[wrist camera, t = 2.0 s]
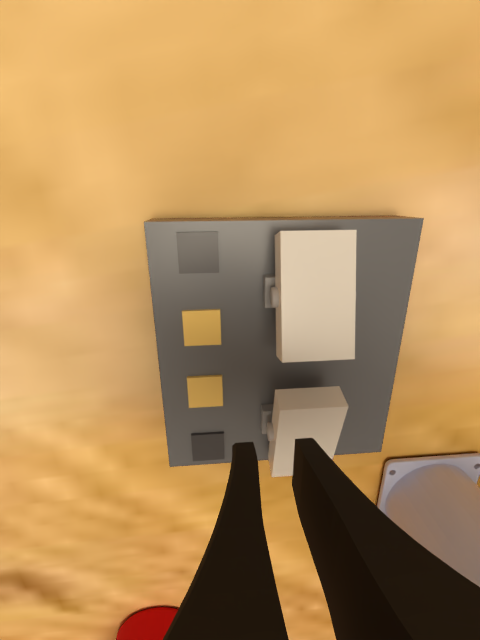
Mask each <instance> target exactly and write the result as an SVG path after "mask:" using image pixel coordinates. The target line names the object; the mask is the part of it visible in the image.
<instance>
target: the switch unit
mask: <svg viewBox="0 0 480 640" xmlns="http://www.w3.org/2000/svg"><path fill="white" fill-rule="evenodd" d="M423 219H424V218H415V217H405V216H339V217H254V218H170V219H150V220H148V221H145V222H144V227H145V237H146V246H147V256H148V265H149V275H150V284H151V293H152V303H153V312H154V322H155V331H156V341H157V350H158V360H159V369H160V379H161V388H162V398H163V407H164V417H165V426H166V436H167V445H168V454H169V464H170V467H174V466H188V465H202V464H216V463H230V462H232V445H233V444H235V443H240V442H253V443H254V447H255V450H256V454H257V459H258V460H269V459H268V451H269V442H270V441H268V437H267V423H270V422H272V414H273V405H274V395H275V390H276V389H294V388H313V387H331V386H339V387H340V389H341V391H342V393H343V395H344V397H345V400H346V402H347V404H348V406H349V407H348V410H347V413H346V417H345V420H344V423H343V427H342V430H341V433H340V437H339V440H338V443H337V446H336V450H335V453H334V455H343V454H357V453H371V452H381V449H382V443H383V438H384V432H385V427H386V421H387V416H388V410H389V405H390V399H391V394H392V389H393V383H394V378H395V372H396V367H397V361H398V356H399V350H400V345H401V339H402V334H403V328H404V323H405V317H406V312H407V307H408V301H409V296H410V290H411V285H412V279H413V274H414V268H415V263H416V257H417V252H418V246H419V241H420V235H421V230H422V225H423ZM307 230H357V233H356V306H355V359H348V360H327V361H306V362H285V363H282V362H281V361H280V360H279V358H278V357H277V356H276V308H272V307H271V302H270V291H271V287H275V235H276V234H277V233H278V232H280V231H307Z"/></svg>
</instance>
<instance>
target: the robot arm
mask: <svg viewBox="0 0 480 640" xmlns="http://www.w3.org/2000/svg"><path fill="white" fill-rule="evenodd" d="M391 470H392V471H391ZM479 475H480V453H471V454H457V455H443V456H430V457H416V458H402V459H391V460H388V461H387V462H386V463H385V467H384V472H383V478H382V483H381V488H380V493H379V498H378V504H377V506H376V505H375V504H374V503H373V502H372V501H370V500H369V499H368V498H367V497H366V496H365V495H364V494H363V493H362V492H361V491H360V490H359V489H358V488H357V486H356V485H355V484H354V483H353V482H352V481H351V480H350V479H349V478H348V477H347V476H346V475H345V474H344V473H343V472H342V471H341V469H340V468H339V467H338V466H337V465H336V464H335V463H334V462H333V460H332V459H331V458H330V457H329V456H328V455H327V454H326V452H325V451H324V450H323V449H322V448H321V447H320V445H319V444H318V443H317V442H316V441H315V440H314V439H313V438H301V439H295V447H294V462H293V478H292V486H293V491H294V496H295V501H296V505H297V510H298V514H299V518H300V521H301V524H302V527H303V530H304V533H305V536H306V539H307V542H308V545H309V548H310V551H311V554H312V557H313V560H314V563H315V566H316V569H317V572H318V575H319V578H320V581H321V584H322V587H323V590H324V594H325V597H326V601H327V604H328V607H329V611H330V615H331V619H332V624H333V628H334V632H335V636H336V640H480V488H479V487H478V486H477V481H478V478H479ZM163 640H289V639H288V635H287V631H286V627H285V623H284V618H283V614H282V610H281V605H280V601H279V597H278V593H277V588H276V583H275V579H274V574H273V569H272V565H271V560H270V556H269V551H268V546H267V541H266V536H265V531H264V526H263V518H262V510H261V497H260V484H259V472H258V459H257V454H256V450H255V447H254V443H253V442H240V443H235V444H233V445H232V463H231V469H230V475H229V479H228V483H227V488H226V492H225V496H224V499H223V503H222V506H221V509H220V512H219V515H218V519H217V522H216V525H215V528H214V530H213V533H212V536H211V538H210V541H209V544H208V546H207V549H206V551H205V554H204V556H203V558H202V561H201V563H200V565H199V567H198V570H197V572H196V574H195V577H194V579H193V581H192V583H191V585H190V587H189V590H188V592H187V594H186V596H185V598H184V600H183V601H182V603H181V605H180V607H179V609H178V611H177V613H176V615H175V617H174V619H173V621H172V623H171V625H170V627H169V629H168V631H167V632H166V634H165V636H164V638H163Z"/></svg>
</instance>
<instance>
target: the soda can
mask: <svg viewBox="0 0 480 640" xmlns="http://www.w3.org/2000/svg"><path fill="white" fill-rule="evenodd" d="M177 611H178V609H176V608H170V607H155V608H149V609H146V610H142V611H140V612H137V613H136V614H134V615H132V616H131V617H130V618H129V619H127V620H126V621H125V623H124V624H123V625H122V626H121V627H120V629H119V631H118V634H117V638H116V640H163V638H164V636H165V634H166V632H167V631H168V629H169V627H170V625H171V623H172V621H173V619H174V617H175V615H176V613H177Z"/></svg>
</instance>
